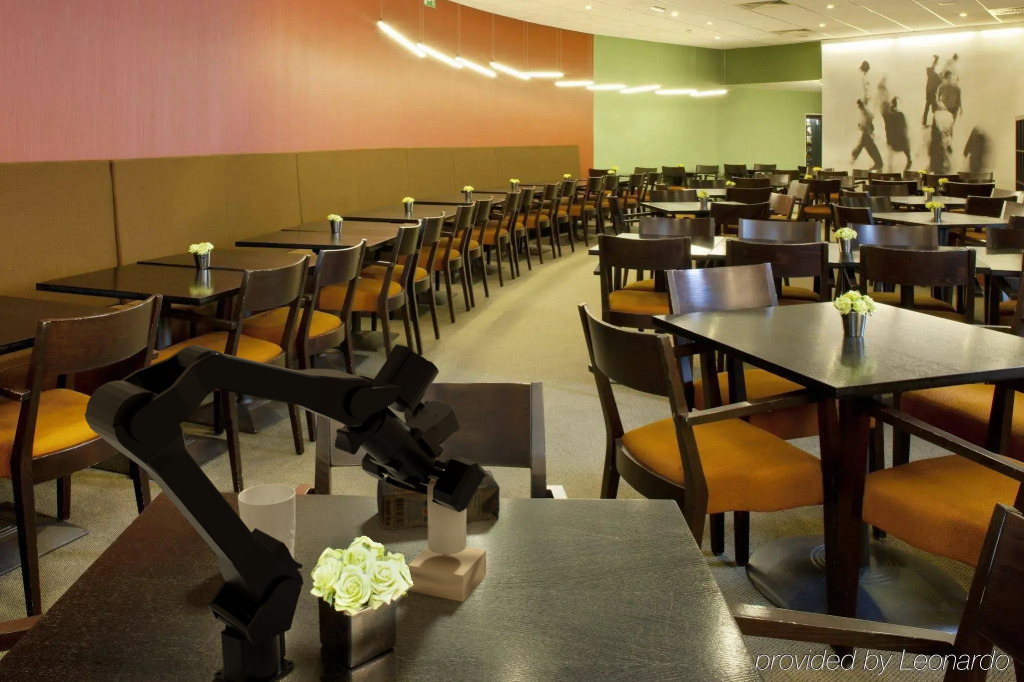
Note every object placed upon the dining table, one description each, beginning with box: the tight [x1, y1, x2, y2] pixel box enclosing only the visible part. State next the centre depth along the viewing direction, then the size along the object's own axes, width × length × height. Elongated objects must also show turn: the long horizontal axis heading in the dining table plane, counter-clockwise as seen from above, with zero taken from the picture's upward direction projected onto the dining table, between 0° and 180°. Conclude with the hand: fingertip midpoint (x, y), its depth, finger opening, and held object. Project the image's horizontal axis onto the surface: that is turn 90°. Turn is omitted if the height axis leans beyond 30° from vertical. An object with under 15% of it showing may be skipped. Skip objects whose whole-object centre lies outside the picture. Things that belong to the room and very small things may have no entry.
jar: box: [427, 477, 467, 556], centre depth 121 cm, size 5×5×10 cm
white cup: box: [237, 483, 296, 560], centre depth 129 cm, size 8×8×10 cm
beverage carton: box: [376, 470, 501, 530], centre depth 144 cm, size 8×19×7 cm, turn 104°
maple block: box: [407, 546, 487, 602], centre depth 123 cm, size 8×8×4 cm
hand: (454, 499), depth 122 cm, fingers closed on jar, 5 cm apart
